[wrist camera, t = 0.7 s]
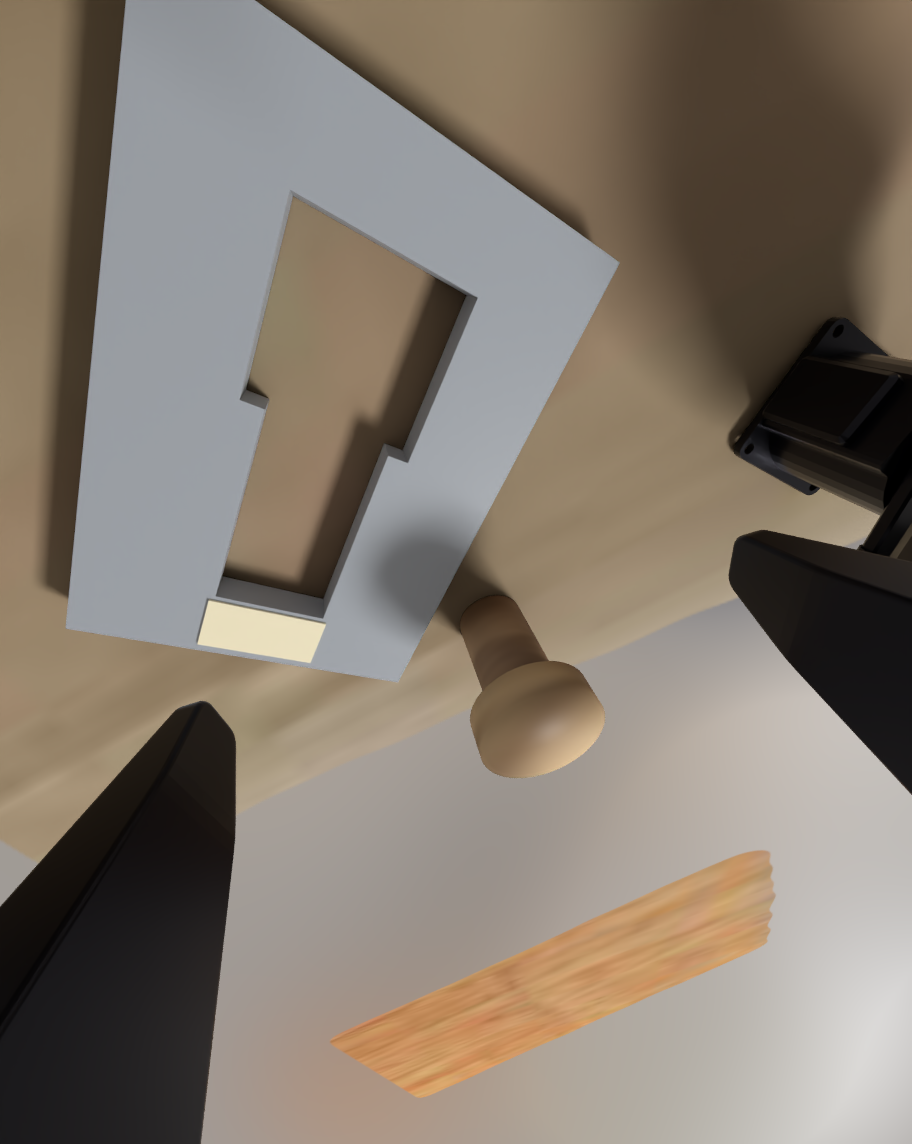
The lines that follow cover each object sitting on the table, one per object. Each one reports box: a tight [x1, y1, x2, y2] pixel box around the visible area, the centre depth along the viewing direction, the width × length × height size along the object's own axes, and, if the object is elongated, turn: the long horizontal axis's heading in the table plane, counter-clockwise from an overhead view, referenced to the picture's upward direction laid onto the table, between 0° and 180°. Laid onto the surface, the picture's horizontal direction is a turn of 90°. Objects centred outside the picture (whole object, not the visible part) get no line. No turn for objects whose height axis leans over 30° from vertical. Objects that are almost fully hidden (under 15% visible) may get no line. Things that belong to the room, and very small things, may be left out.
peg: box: [460, 595, 605, 778], centre depth 22 cm, size 5×5×8 cm
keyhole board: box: [66, 0, 620, 682], centre depth 17 cm, size 20×14×2 cm
